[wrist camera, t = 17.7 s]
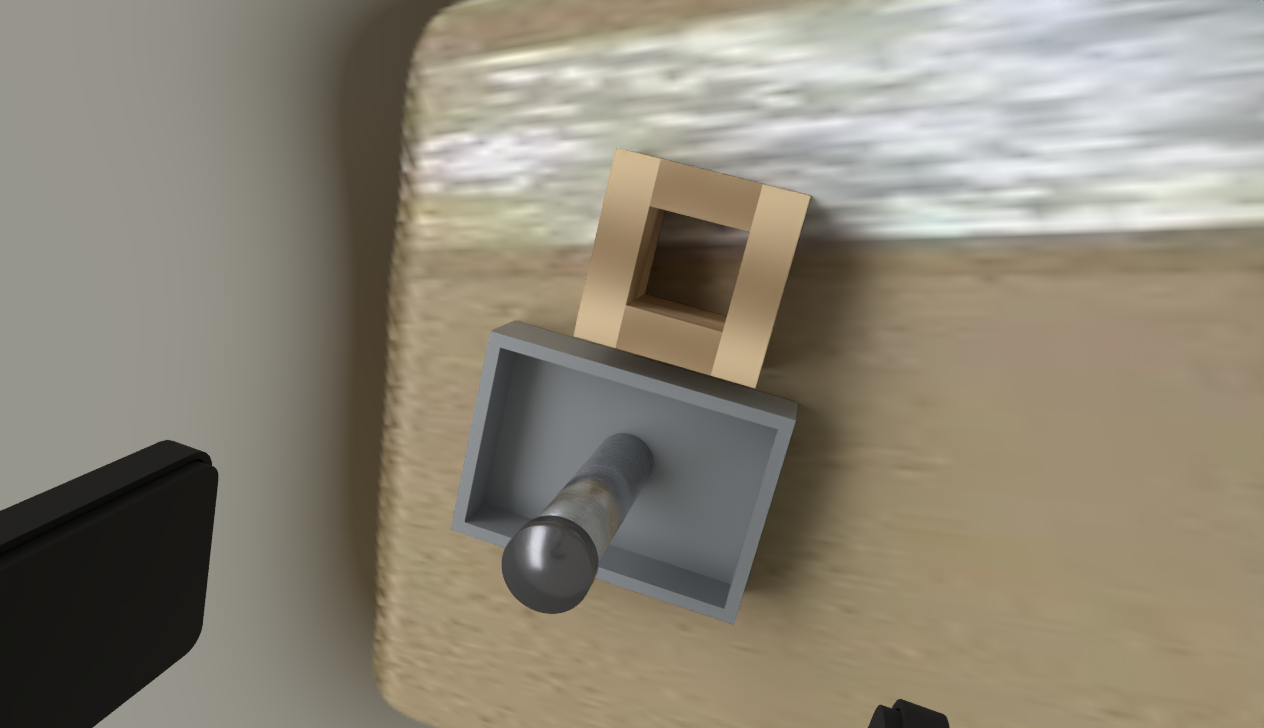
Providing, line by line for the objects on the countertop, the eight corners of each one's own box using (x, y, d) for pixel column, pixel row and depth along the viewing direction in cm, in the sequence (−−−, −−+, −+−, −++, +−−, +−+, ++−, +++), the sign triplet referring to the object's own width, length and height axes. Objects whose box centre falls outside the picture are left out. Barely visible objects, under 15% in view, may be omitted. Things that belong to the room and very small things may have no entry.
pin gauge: (600, 420, 40) (511, 514, 28) (664, 440, 39) (600, 543, 28) (586, 481, 41) (493, 596, 29) (648, 501, 40) (579, 625, 29)
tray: (514, 320, 40) (490, 331, 37) (797, 402, 38) (795, 420, 35) (476, 506, 43) (450, 529, 40) (740, 593, 41) (733, 624, 38)
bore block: (636, 152, 38) (615, 148, 34) (811, 195, 36) (810, 196, 32) (597, 321, 40) (573, 335, 36) (761, 368, 38) (755, 388, 34)
